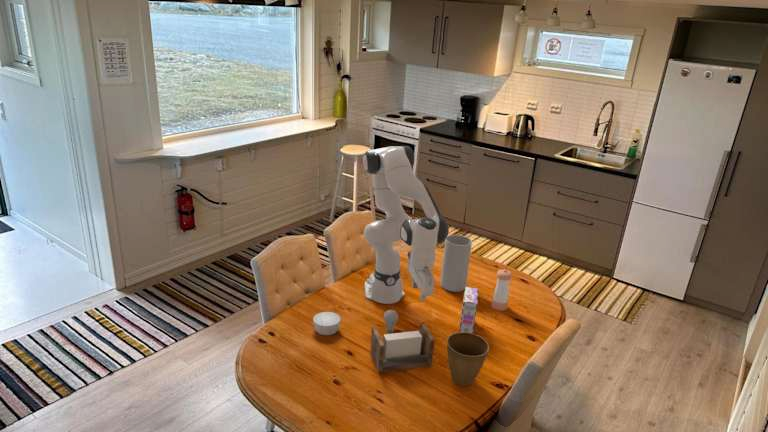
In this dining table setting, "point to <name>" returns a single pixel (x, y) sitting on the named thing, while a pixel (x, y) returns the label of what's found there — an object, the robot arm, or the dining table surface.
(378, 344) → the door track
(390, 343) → the door panel
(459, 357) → the plant pot
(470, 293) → the candy box
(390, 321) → the lightbulb
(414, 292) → the dining table surface
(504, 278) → the salt shaker
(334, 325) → the ramekin
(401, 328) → the dining table surface
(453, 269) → the cylinder vase
